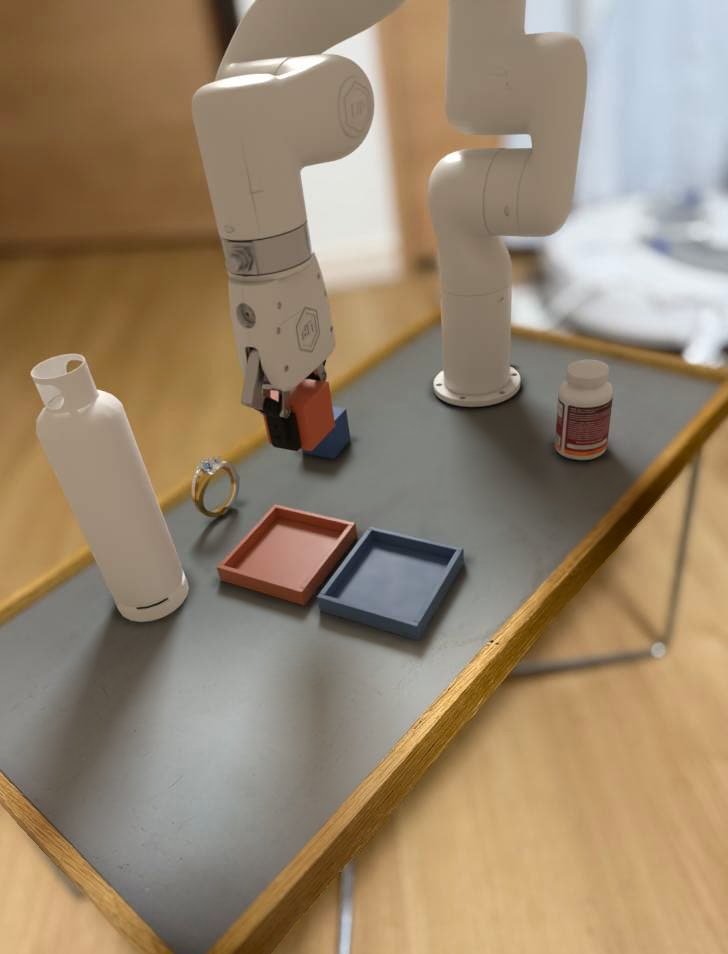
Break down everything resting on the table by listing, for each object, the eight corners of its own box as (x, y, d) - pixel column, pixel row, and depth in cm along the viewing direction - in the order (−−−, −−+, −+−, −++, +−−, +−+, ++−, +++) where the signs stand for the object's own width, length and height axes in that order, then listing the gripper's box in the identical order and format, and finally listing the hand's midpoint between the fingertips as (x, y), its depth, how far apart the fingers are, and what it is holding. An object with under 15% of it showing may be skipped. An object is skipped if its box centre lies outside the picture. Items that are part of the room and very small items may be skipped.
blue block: (320, 434, 100) (314, 403, 97) (350, 440, 98) (346, 408, 95) (302, 453, 97) (296, 422, 94) (333, 459, 95) (328, 427, 92)
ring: (235, 495, 92) (221, 443, 87) (251, 502, 90) (238, 450, 85) (194, 523, 88) (177, 470, 83) (210, 532, 86) (193, 478, 81)
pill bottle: (617, 448, 87) (628, 366, 80) (582, 468, 85) (591, 386, 78) (577, 430, 92) (585, 351, 85) (543, 448, 90) (548, 369, 83)
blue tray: (371, 539, 81) (369, 525, 80) (464, 561, 76) (463, 547, 74) (319, 610, 73) (316, 596, 72) (418, 640, 68) (417, 626, 67)
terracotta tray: (277, 516, 87) (274, 503, 85) (357, 536, 82) (355, 522, 80) (220, 580, 79) (216, 567, 78) (304, 606, 74) (301, 592, 73)
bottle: (102, 611, 78) (-9, 383, 60) (147, 565, 83) (56, 342, 65) (160, 629, 74) (59, 392, 57) (202, 579, 80) (122, 348, 62)
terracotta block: (294, 419, 74) (286, 376, 71) (335, 425, 72) (328, 381, 69) (269, 443, 71) (259, 399, 68) (311, 451, 69) (303, 406, 66)
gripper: (247, 289, 53) (289, 486, 64) (351, 217, 64) (371, 397, 75) (171, 284, 56) (224, 472, 68) (282, 217, 67) (311, 389, 78)
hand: (301, 431), depth 71 cm, fingers closed on terracotta block, 5 cm apart
